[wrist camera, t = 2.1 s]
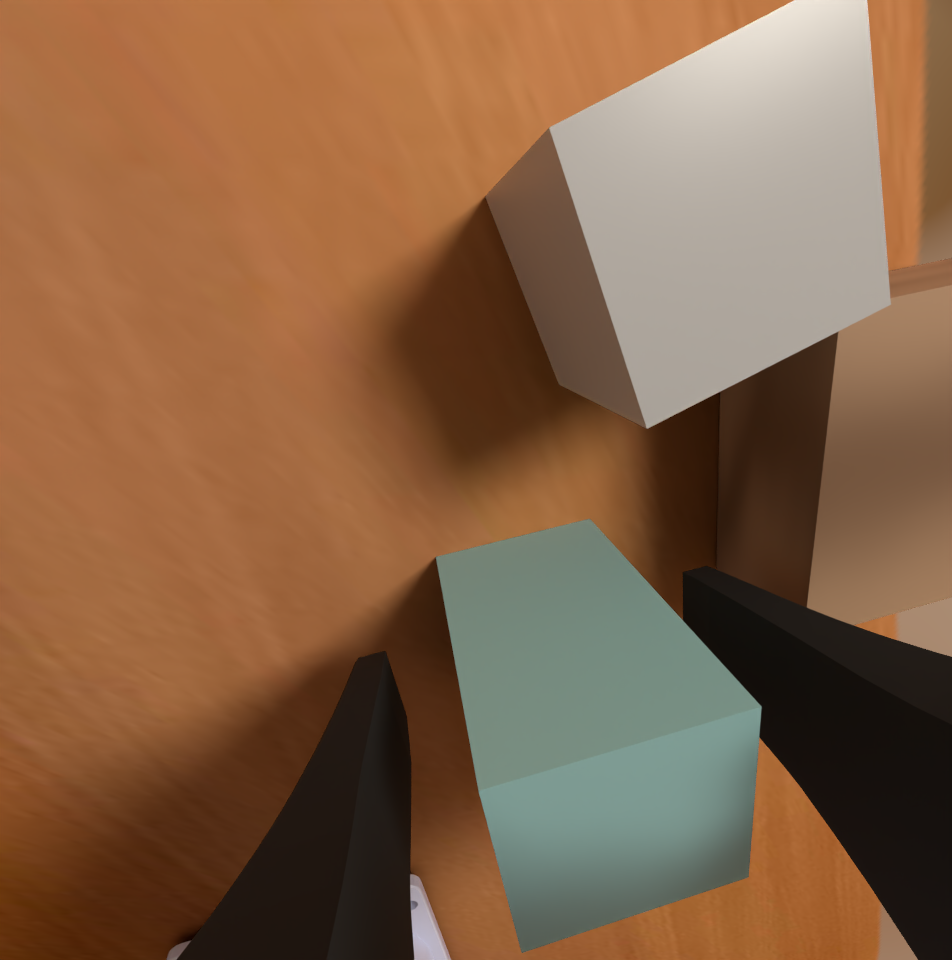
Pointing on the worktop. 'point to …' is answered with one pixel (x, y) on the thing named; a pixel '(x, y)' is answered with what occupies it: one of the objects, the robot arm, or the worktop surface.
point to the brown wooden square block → (847, 462)
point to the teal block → (596, 733)
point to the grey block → (706, 215)
